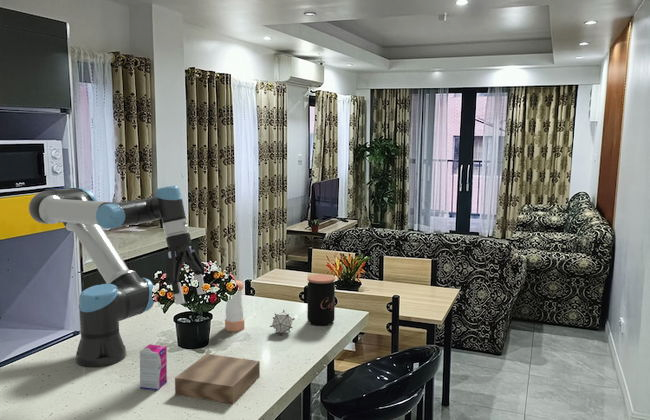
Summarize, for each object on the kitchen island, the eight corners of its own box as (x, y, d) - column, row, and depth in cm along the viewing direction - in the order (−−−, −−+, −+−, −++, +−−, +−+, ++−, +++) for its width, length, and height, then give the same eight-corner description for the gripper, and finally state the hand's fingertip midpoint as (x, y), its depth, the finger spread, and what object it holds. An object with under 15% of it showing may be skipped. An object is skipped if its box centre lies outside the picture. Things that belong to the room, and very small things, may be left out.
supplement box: (158, 391, 158) (157, 352, 156) (139, 389, 159) (138, 351, 157) (168, 382, 163) (166, 345, 162) (149, 380, 164) (148, 343, 163)
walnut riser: (175, 394, 156) (174, 377, 155) (206, 368, 173) (206, 353, 172) (233, 404, 150) (232, 386, 150) (259, 376, 168) (259, 361, 167)
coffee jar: (322, 328, 209) (322, 282, 207) (301, 322, 216) (301, 277, 214) (339, 321, 218) (340, 277, 215) (319, 315, 224) (319, 272, 222)
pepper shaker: (248, 328, 209) (247, 279, 206) (231, 332, 204) (230, 282, 201) (238, 323, 214) (237, 275, 212) (221, 327, 210) (220, 278, 207)
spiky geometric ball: (278, 343, 204) (262, 325, 200) (282, 328, 211) (267, 310, 208) (298, 335, 201) (282, 316, 197) (301, 320, 208) (286, 301, 205)
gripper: (166, 236, 163) (181, 306, 163) (206, 227, 187) (219, 288, 187) (144, 241, 165) (159, 310, 166) (187, 231, 189) (200, 292, 190)
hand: (191, 298), depth 176 cm, fingers open, 13 cm apart
